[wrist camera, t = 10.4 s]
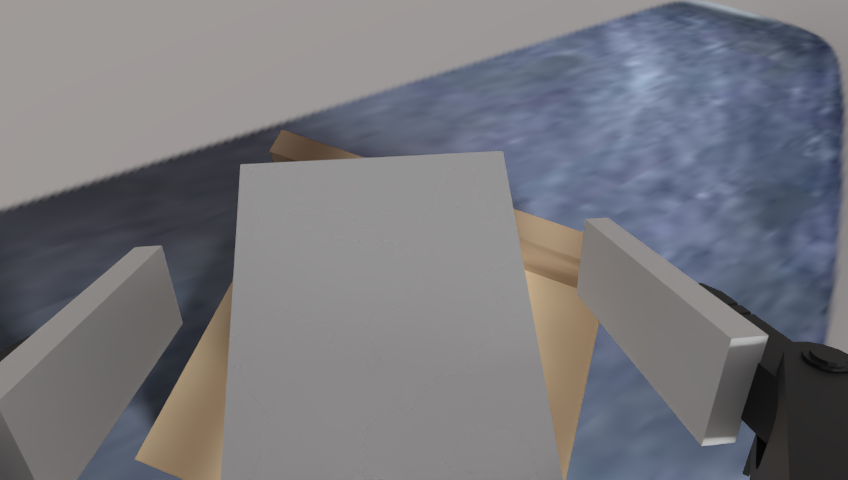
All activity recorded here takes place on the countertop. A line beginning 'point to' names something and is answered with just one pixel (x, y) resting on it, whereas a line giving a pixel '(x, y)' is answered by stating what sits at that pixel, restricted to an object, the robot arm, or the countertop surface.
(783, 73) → the countertop surface
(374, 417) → the lock block
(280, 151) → the wooden tray
